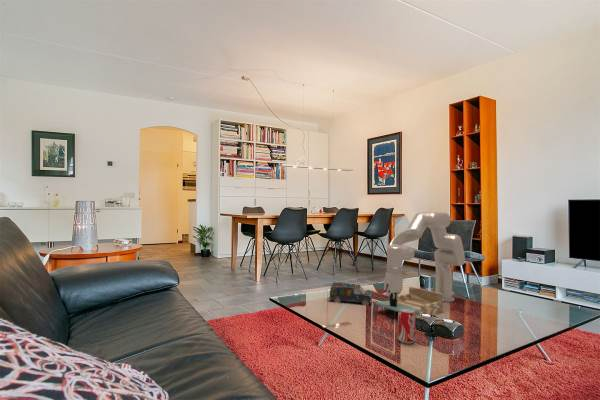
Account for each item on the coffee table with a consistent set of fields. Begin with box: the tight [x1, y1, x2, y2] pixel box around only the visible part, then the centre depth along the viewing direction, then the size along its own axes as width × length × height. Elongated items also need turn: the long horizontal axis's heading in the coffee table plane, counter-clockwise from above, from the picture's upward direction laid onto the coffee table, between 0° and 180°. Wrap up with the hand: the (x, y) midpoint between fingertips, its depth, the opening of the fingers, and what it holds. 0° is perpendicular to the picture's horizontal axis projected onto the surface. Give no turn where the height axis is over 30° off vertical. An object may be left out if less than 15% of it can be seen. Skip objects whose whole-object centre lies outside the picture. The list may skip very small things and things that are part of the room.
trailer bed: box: [397, 286, 443, 316], centre depth 182 cm, size 20×20×10 cm
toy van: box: [328, 282, 373, 306], centre depth 196 cm, size 11×25×10 cm, turn 77°
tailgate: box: [375, 300, 420, 313], centre depth 172 cm, size 2×19×12 cm
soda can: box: [396, 308, 417, 345], centre depth 139 cm, size 7×7×13 cm
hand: (393, 305), depth 170 cm, fingers closed
